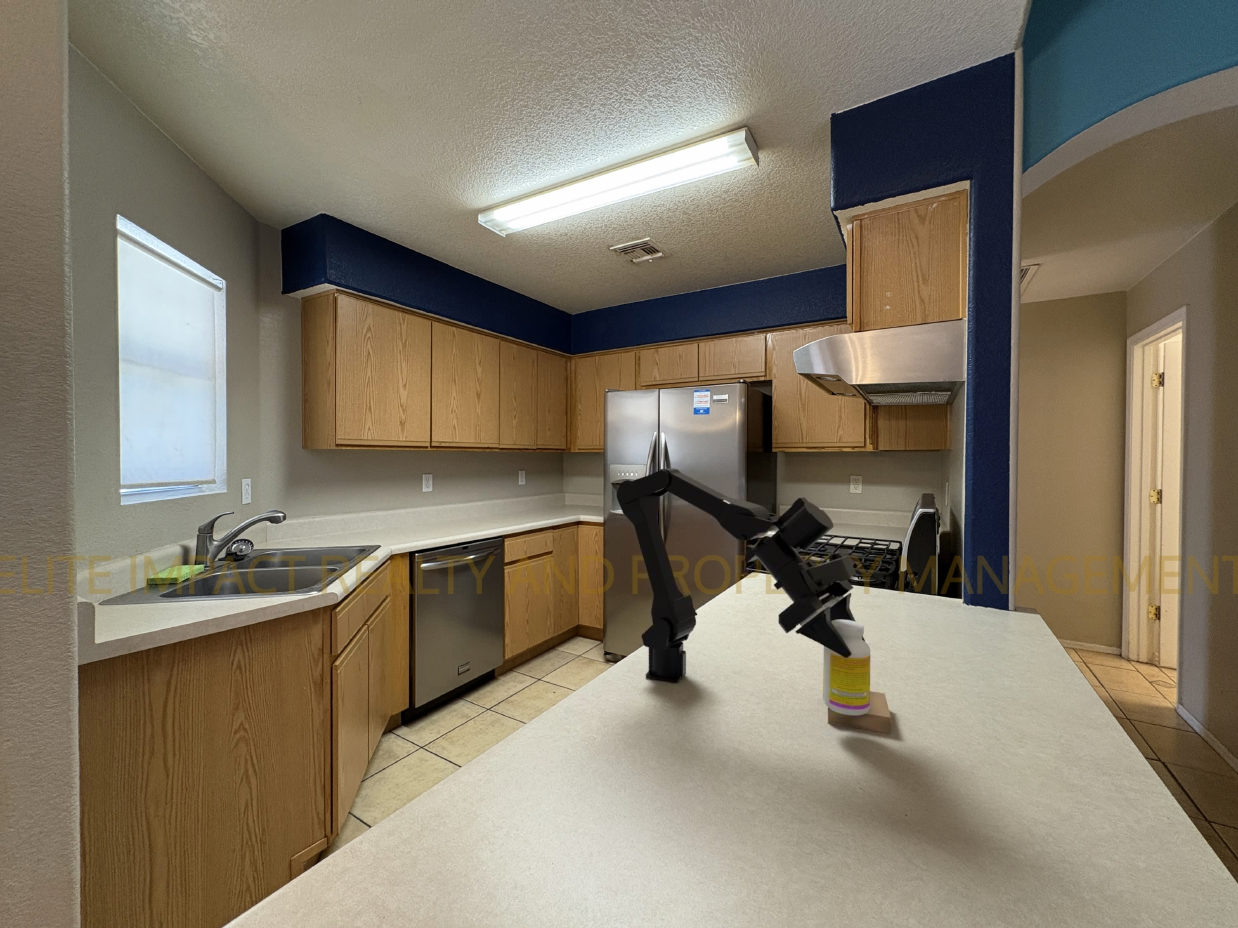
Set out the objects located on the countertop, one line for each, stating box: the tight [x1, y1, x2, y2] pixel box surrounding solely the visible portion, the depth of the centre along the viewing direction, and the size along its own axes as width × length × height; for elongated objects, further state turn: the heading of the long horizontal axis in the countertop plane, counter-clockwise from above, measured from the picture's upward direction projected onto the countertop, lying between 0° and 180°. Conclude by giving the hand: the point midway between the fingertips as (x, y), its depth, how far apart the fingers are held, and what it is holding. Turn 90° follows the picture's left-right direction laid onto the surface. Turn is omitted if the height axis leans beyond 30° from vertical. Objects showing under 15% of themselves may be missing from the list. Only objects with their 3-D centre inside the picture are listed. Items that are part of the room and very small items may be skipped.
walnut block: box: [827, 690, 892, 735], centre depth 86 cm, size 9×9×2 cm
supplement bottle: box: [822, 620, 871, 715], centre depth 81 cm, size 7×7×13 cm
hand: (856, 649), depth 80 cm, fingers closed on supplement bottle, 7 cm apart
